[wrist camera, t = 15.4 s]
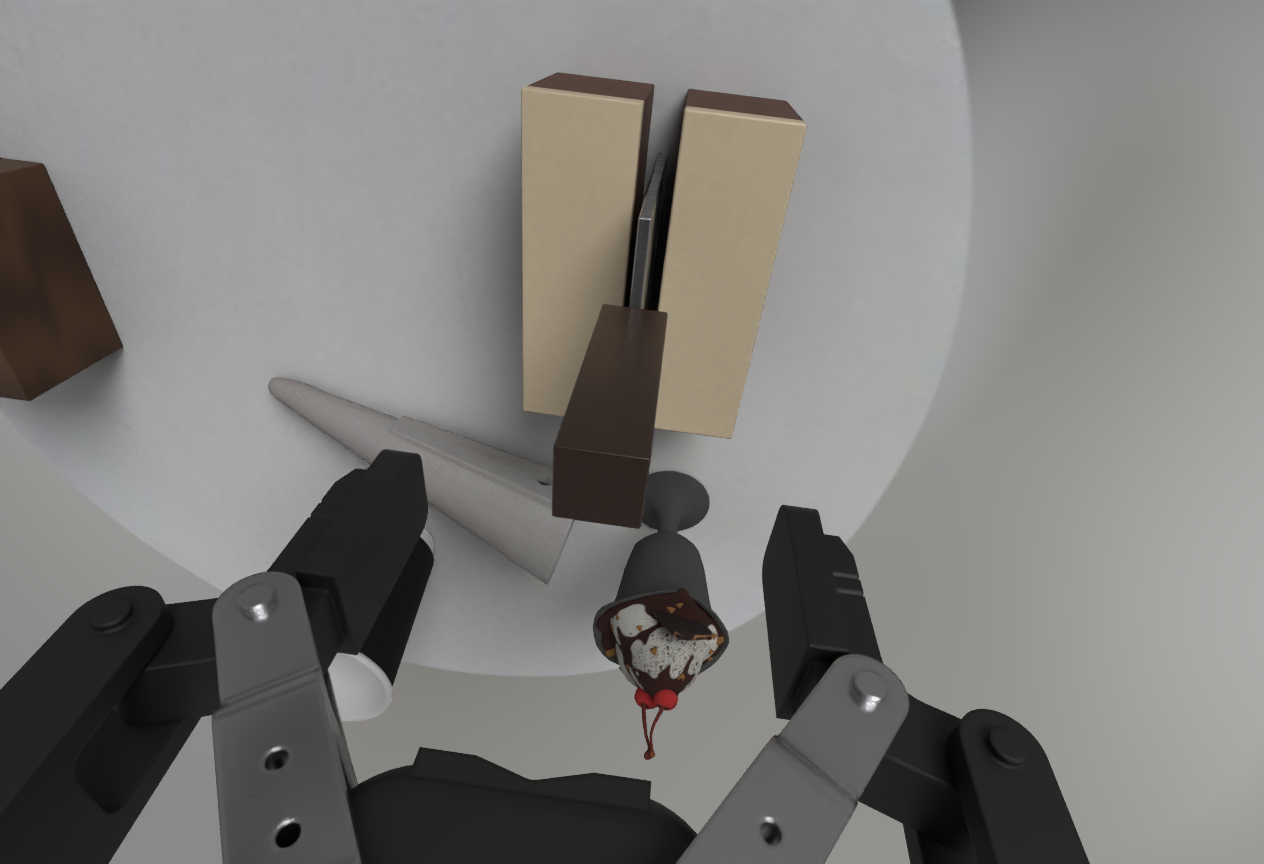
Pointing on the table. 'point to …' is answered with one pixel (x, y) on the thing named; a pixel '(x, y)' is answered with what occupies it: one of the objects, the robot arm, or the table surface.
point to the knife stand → (44, 289)
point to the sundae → (663, 602)
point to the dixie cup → (383, 643)
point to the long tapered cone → (451, 475)
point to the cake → (607, 229)
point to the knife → (616, 396)
